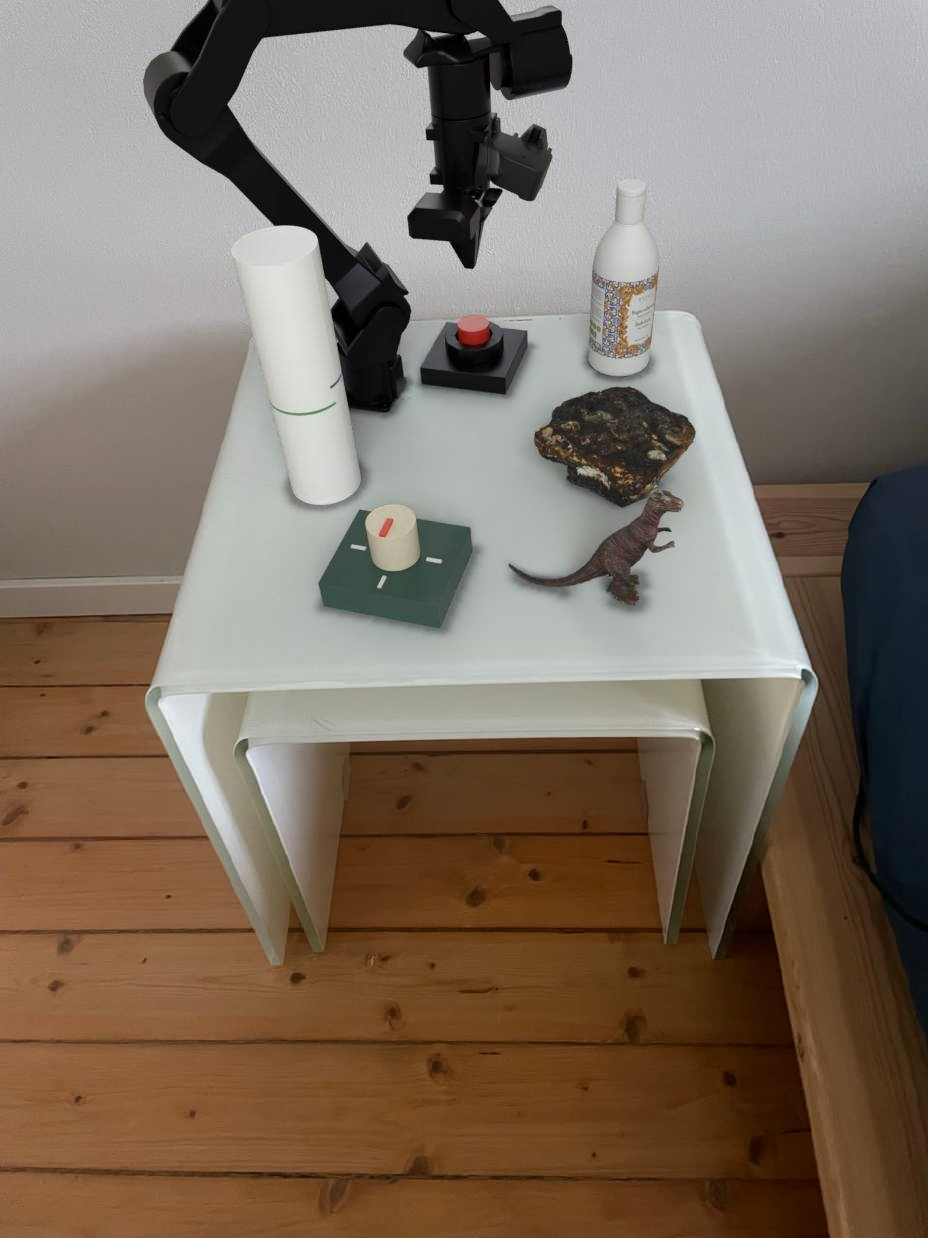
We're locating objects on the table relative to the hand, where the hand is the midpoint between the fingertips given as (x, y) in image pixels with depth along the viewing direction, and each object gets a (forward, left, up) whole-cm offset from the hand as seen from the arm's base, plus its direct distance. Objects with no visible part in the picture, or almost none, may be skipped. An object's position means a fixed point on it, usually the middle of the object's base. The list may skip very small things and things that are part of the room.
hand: (470, 267), depth 97 cm
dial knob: (+3, -35, -9) cm, 36 cm away
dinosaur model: (+20, -32, -12) cm, 40 cm away
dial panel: (+3, -35, -12) cm, 37 cm away
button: (0, 0, -8) cm, 8 cm away
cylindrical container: (-9, -24, -12) cm, 28 cm away
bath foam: (+16, +4, -12) cm, 21 cm away
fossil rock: (+19, -16, -12) cm, 28 cm away
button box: (0, 0, -12) cm, 12 cm away
